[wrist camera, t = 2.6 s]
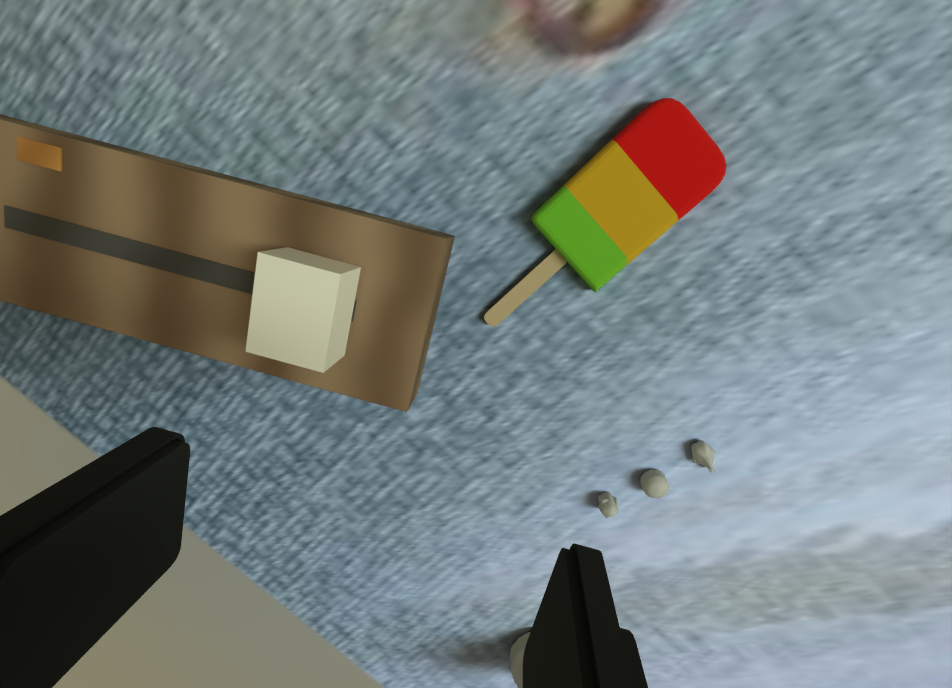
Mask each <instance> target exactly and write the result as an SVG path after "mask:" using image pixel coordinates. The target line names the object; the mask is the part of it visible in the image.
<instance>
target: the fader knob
mask: <svg viewBox="0 0 952 688" xmlns="http://www.w3.org/2000/svg"><path fill="white" fill-rule="evenodd" d="M360 270H361V267H359V266H355V265H352V264H348V263H344V262H341V261H337V260H333V259H329V258H326V257H322V256H318V255H315V254H311V253H307V252H303V251H300V250H296V249H292V248H289V247H286V248H280V249H273V250H267V251H261V252H258V254H257V262H256V270H255V279H254V287H253V295H252V303H251V311H250V319H249V327H248V335H247V343H246V351H245V352H249V353H252V354H256V355H260V356H263V357H267V358H271V359H274V360H278V361H282V362H285V363H289V364H293V365H296V366H300V367H304V368H307V369H311V370H315V371H318V372H322V373H324V372H325V371H326V370H328V369H329V368H330V367H331V366H332V365H334V364H335V363H336V362H337V361H338V360H340V359H341V358H342V357H343V356H344V355H345V351H346V345H347V340H348V335H349V329H350V324H351V318H352V313H353V308H354V302H355V297H356V292H357V286H358V281H359V275H360Z"/></svg>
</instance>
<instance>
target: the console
mask: <svg viewBox="0 0 952 688" xmlns="http://www.w3.org/2000/svg"><path fill="white" fill-rule="evenodd" d="M454 237H455V236H453V235H449V234H446V233H442V232H438V231H434V230H431V229H427V228H423V227H419V226H416V225H412V224H408V223H404V222H401V221H397V220H393V219H389V218H386V217H382V216H378V215H375V214H371V213H367V212H363V211H360V210H356V209H352V208H348V207H345V206H341V205H337V204H333V203H330V202H326V201H322V200H318V199H315V198H311V197H307V196H303V195H300V194H296V193H292V192H288V191H285V190H281V189H277V188H273V187H270V186H266V185H262V184H259V183H255V182H251V181H247V180H244V179H240V178H236V177H232V176H229V175H225V174H221V173H217V172H214V171H210V170H206V169H202V168H199V167H195V166H191V165H187V164H184V163H180V162H176V161H172V160H169V159H165V158H161V157H157V156H154V155H150V154H146V153H143V152H139V151H135V150H131V149H128V148H124V147H120V146H116V145H113V144H109V143H105V142H101V141H98V140H94V139H90V138H86V137H83V136H79V135H75V134H71V133H68V132H64V131H60V130H56V129H53V128H49V127H45V126H41V125H38V124H34V123H30V122H27V121H23V120H19V119H15V118H12V117H8V116H4V115H0V301H4V302H7V303H11V304H14V305H18V306H22V307H25V308H29V309H33V310H36V311H40V312H44V313H47V314H51V315H55V316H58V317H62V318H66V319H69V320H73V321H77V322H80V323H84V324H87V325H91V326H95V327H98V328H102V329H106V330H109V331H113V332H117V333H120V334H124V335H128V336H131V337H135V338H139V339H142V340H146V341H150V342H153V343H157V344H160V345H164V346H168V347H171V348H175V349H179V350H182V351H186V352H190V353H193V354H197V355H201V356H204V357H208V358H212V359H215V360H219V361H222V362H226V363H230V364H233V365H237V366H241V367H244V368H248V369H252V370H255V371H259V372H263V373H266V374H270V375H274V376H277V377H281V378H285V379H288V380H292V381H295V382H299V383H303V384H306V385H310V386H314V387H317V388H321V389H325V390H328V391H332V392H336V393H339V394H343V395H347V396H350V397H354V398H358V399H361V400H365V401H368V402H372V403H376V404H379V405H383V406H387V407H390V408H394V409H398V410H401V411H405V412H407V411H408V409H409V407H410V406H411V404H412V402H413V400H414V398H415V397H416V395H417V393H418V389H419V385H420V381H421V376H422V372H423V368H424V364H425V359H426V355H427V351H428V347H429V343H430V338H431V334H432V330H433V326H434V321H435V317H436V313H437V309H438V305H439V300H440V296H441V292H442V288H443V283H444V279H445V275H446V271H447V267H448V262H449V258H450V254H451V250H452V245H453V241H454ZM286 247H289V248H292V249H296V250H300V251H303V252H307V253H311V254H315V255H318V256H322V257H326V258H329V259H333V260H337V261H341V262H344V263H348V264H352V265H355V266H359V267H361V270H360V275H359V281H358V286H357V292H356V297H355V302H354V308H353V313H352V318H351V324H350V329H349V335H348V340H347V345H346V351H345V355H344V356H343V357H342V358H341V359H340V360H338V361H337V362H336V363H335V364H334V365H332V366H331V367H330V368H329V369H328V370H326V371H325V372H324V373H322V372H318V371H315V370H311V369H307V368H304V367H300V366H296V365H293V364H289V363H285V362H282V361H278V360H274V359H271V358H267V357H263V356H260V355H256V354H252V353H249V352H245V351H246V343H247V335H248V327H249V319H250V311H251V303H252V295H253V287H254V279H255V270H256V262H257V254H258V252H261V251H267V250H273V249H280V248H286Z"/></svg>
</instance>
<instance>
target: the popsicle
mask: <svg viewBox="0 0 952 688" xmlns="http://www.w3.org/2000/svg"><path fill="white" fill-rule="evenodd" d="M725 171H726V162H725V158H724V155H723V154H722V152H721V151H720V149H719V147H718V146H717V145H716V144H715V142H714V141H713V140H712V139H711V137H710V136H709V135H708V134H707V133H706V131H705V130H704V129H703V128H702V126H701V125H700V124H699V123H698V121H697V120H696V119H695V118H694V116H693V115H692V114H691V113H690V111H689V110H688V109H687V108H686V107H685V106H684V105H683V104H682V103H681V102H679V101H676V100H674V99H672V98H663V99H660V100H658V101H655V102H653V103H651V104H650V105H649V106H648V107H646V108H645V109H644V110H642V111H641V112H640V113H639V114H638V115H637V116H636V117H635V118H634V119H633V120H632V121H631V122H630V123H628V124H627V125H626V126H625V127H624V128H623V129H622V130H621V131H620V132H619V133H618V134H617V135H616V136H615V137H614V138H613V139H612V140H611V141H610V142H608V143H607V144H606V145H605V146H604V147H603V148H602V149H601V150H600V151H599V152H598V153H597V154H596V155H595V156H594V157H593V158H592V159H591V160H590V161H588V162H587V163H586V164H585V165H584V166H583V167H582V168H581V169H580V170H579V171H578V172H577V173H576V174H575V175H574V176H573V177H572V178H571V179H570V180H568V181H567V182H566V183H565V184H564V185H563V186H562V187H561V188H560V189H559V190H558V191H557V192H556V193H555V194H554V195H553V196H552V197H551V198H550V199H549V200H547V201H546V202H545V203H544V204H543V205H542V206H541V207H540V208H539V209H538V210H537V211H536V212H535V213H534V214H533V215H532V218H531V220H532V223H533V224H534V225H535V226H536V228H537V229H538V230H539V231H540V232H541V233H542V234H543V235H544V236H545V238H546V239H547V240H548V241H549V242H550V243H551V244H552V245H553V247H554V248H555V250H554V251H553V252H552V253H551V254H549V255H548V256H547V257H546V258H545V259H544V260H543V261H542V262H541V263H540V264H539V265H537V266H536V267H535V268H534V269H533V270H532V271H531V272H530V273H529V274H528V275H526V276H525V277H524V278H523V279H522V280H521V281H520V282H519V283H518V284H517V285H516V286H514V287H513V288H512V289H511V290H510V291H509V292H508V293H507V294H506V295H505V296H503V297H502V298H501V299H500V300H499V301H498V302H497V303H496V304H495V305H494V306H493V307H491V308H490V309H489V310H488V311H487V312H486V313H485V316H484V319H485V321H486V322H487V323H488V324H489V325H490V326H496V325H498V324H499V323H500V322H501V321H502V320H503V319H505V318H506V317H507V316H508V315H509V314H510V313H511V312H512V311H514V310H515V309H516V308H517V307H518V306H519V305H520V304H521V303H522V302H524V301H525V300H526V299H527V298H528V297H529V296H530V295H531V294H532V293H534V292H535V291H536V290H537V289H538V288H539V287H540V286H541V285H542V284H544V283H545V282H546V281H547V280H548V279H549V278H550V277H551V276H553V275H554V274H555V273H556V272H557V271H558V270H559V269H560V268H561V267H563V266H564V265H565V264H566V263H567V262H568V263H569V264H570V265H571V267H572V268H573V269H574V270H575V271H576V272H577V273H578V274H579V275H580V277H581V278H582V279H583V280H584V281H585V282H586V283H587V284H588V286H589V287H590V288H591V289H592V290H593V291H594V292H596V291H597V290H598V289H600V288H601V287H602V286H603V285H604V284H605V283H606V282H608V281H609V280H610V279H611V278H612V277H613V276H615V275H616V274H617V273H618V272H619V271H620V270H622V269H623V268H624V267H625V266H626V265H627V264H629V263H630V262H631V261H632V260H633V259H634V258H636V257H637V256H638V255H639V254H640V253H641V252H642V251H644V250H645V249H646V248H647V247H648V246H649V245H651V244H652V243H653V242H654V241H655V240H656V239H658V238H659V237H660V236H661V235H662V234H663V233H665V232H666V231H667V230H668V229H669V228H670V227H671V226H673V225H674V224H675V223H676V222H677V221H678V220H680V219H681V218H682V217H683V216H684V215H685V214H687V213H688V212H689V211H690V210H691V209H692V208H694V207H695V206H696V205H697V204H698V203H699V202H700V201H702V200H703V199H704V198H705V197H706V196H707V195H709V194H710V193H711V192H712V191H713V190H714V189H715V188H716V187H717V186H718V185H719V184H720V183H721V181H722V179H723V177H724V175H725ZM585 209H586V210H585Z"/></svg>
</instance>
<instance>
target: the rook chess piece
mask: <svg viewBox="0 0 952 688" xmlns="http://www.w3.org/2000/svg"><path fill="white" fill-rule="evenodd" d="M530 632H531V631H530ZM530 632H528V633H526V634H524V635H522V636H521V637H519V638H518V639H517V641H516V642H515V643H514V644H513V646H512V647H511V651H510V660H511V667H510V669H511V672H512V675H513V679H514V682H515V683H516V684H517V686H518V688H523V656H524V650H525V646H526V643H527V640H528V638H529V635H530Z"/></svg>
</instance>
